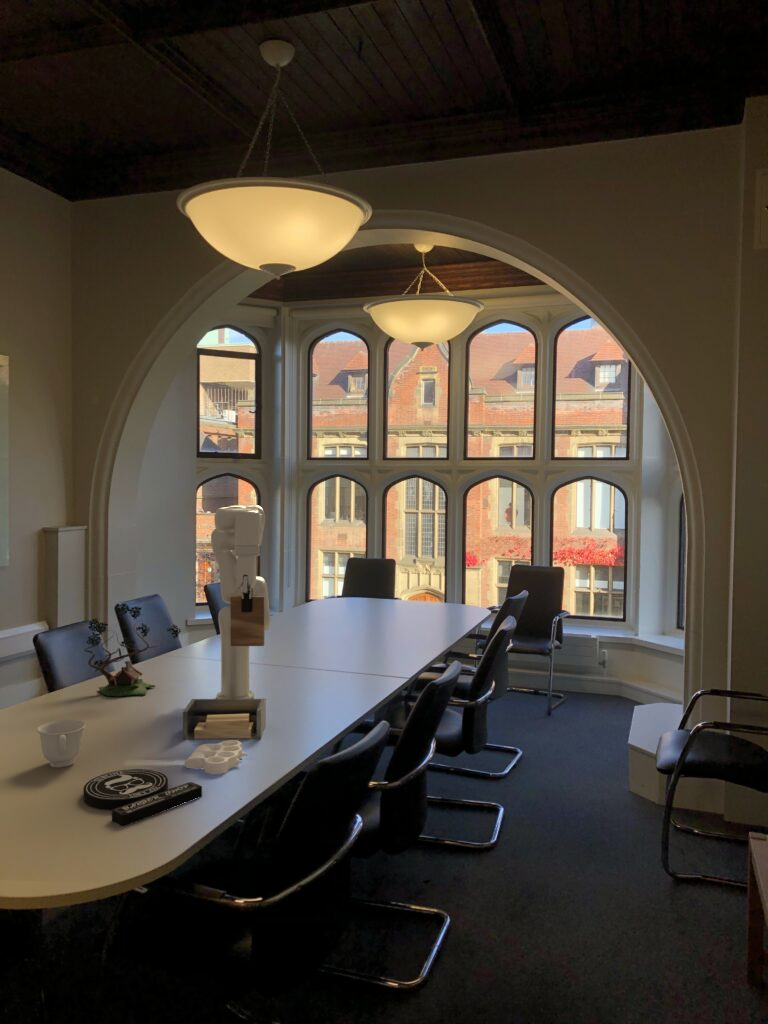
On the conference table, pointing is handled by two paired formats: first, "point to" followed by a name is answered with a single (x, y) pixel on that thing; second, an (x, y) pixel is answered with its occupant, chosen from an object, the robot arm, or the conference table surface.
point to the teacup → (61, 741)
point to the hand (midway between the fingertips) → (247, 610)
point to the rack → (204, 707)
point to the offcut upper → (227, 721)
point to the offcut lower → (222, 732)
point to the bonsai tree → (128, 676)
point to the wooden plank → (247, 622)
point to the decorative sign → (136, 794)
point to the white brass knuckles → (216, 757)
